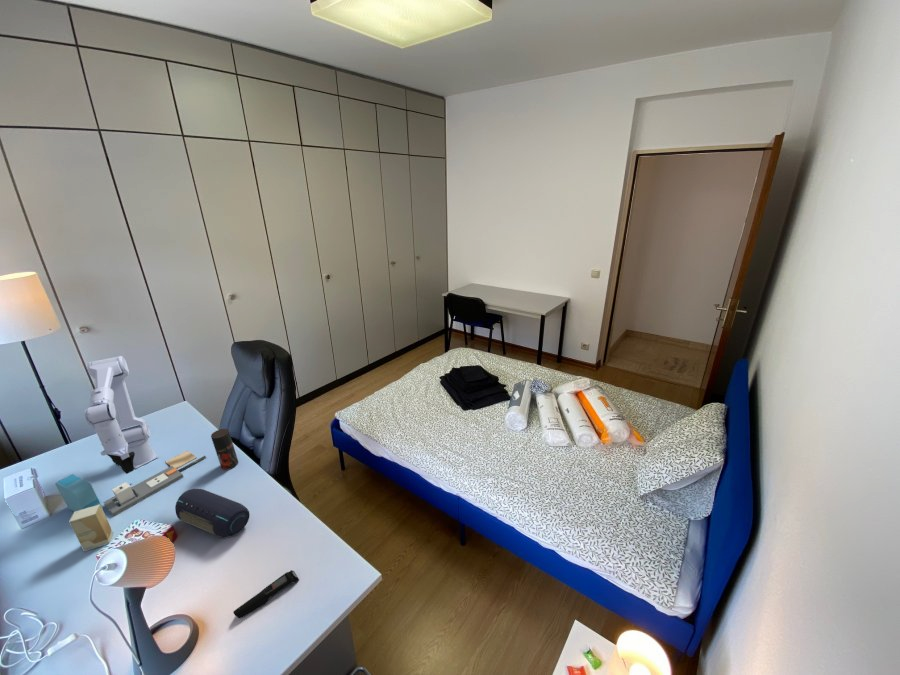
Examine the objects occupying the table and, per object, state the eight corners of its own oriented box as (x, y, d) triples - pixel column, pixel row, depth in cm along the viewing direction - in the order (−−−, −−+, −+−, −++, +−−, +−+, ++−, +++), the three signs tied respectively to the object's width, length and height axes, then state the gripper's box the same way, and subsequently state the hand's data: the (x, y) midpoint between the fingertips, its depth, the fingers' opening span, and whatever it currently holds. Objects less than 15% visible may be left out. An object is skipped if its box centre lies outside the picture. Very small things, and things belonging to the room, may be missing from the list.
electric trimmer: (234, 614, 92) (230, 606, 91) (294, 571, 102) (292, 564, 101) (238, 625, 90) (235, 618, 88) (300, 581, 99) (297, 573, 98)
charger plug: (118, 502, 127) (111, 489, 125) (132, 494, 130) (126, 481, 128) (122, 507, 125) (115, 493, 123) (136, 499, 128) (130, 486, 126)
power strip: (104, 505, 126) (102, 500, 125) (200, 453, 150) (198, 449, 149) (114, 516, 121) (111, 511, 121) (211, 461, 145) (209, 457, 145)
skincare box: (83, 552, 109) (66, 522, 105) (89, 541, 113) (72, 511, 108) (111, 543, 112) (95, 513, 107) (115, 532, 115) (100, 503, 111)
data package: (104, 509, 124) (90, 482, 120) (87, 519, 120) (72, 492, 116) (85, 499, 129) (70, 472, 124) (68, 508, 125) (53, 481, 120)
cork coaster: (165, 462, 145) (165, 461, 145) (187, 451, 152) (187, 450, 152) (174, 469, 141) (174, 469, 141) (196, 457, 148) (196, 457, 147)
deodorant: (241, 459, 146) (232, 429, 140) (232, 470, 140) (221, 438, 135) (228, 459, 146) (218, 428, 141) (217, 469, 141) (207, 438, 135)
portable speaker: (174, 524, 118) (164, 501, 114) (203, 501, 126) (195, 479, 123) (229, 548, 109) (220, 524, 105) (256, 522, 118) (249, 499, 114)
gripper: (88, 435, 123) (103, 467, 128) (103, 449, 116) (119, 482, 121) (114, 425, 129) (128, 456, 134) (130, 437, 121) (144, 469, 126)
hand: (125, 468), depth 128 cm, fingers open, 7 cm apart
